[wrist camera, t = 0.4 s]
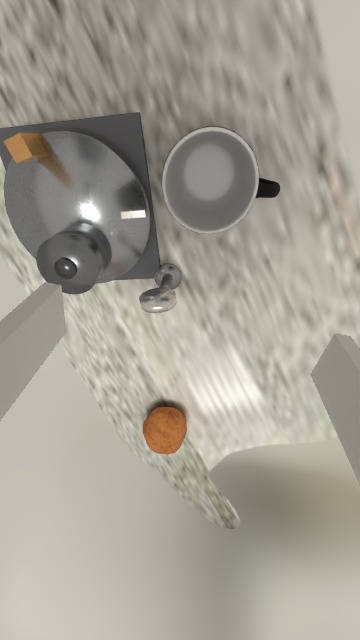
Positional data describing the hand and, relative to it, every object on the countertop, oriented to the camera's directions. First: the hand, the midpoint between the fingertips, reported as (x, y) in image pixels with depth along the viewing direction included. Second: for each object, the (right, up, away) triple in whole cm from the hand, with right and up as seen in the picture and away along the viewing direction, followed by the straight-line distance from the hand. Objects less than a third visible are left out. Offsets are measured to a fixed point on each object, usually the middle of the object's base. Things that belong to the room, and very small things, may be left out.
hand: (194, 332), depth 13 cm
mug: (+4, +18, +20) cm, 28 cm away
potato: (-4, -20, +47) cm, 51 cm away
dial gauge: (-2, +7, +28) cm, 29 cm away
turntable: (-13, +14, +22) cm, 29 cm away
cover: (-13, +10, +23) cm, 28 cm away
